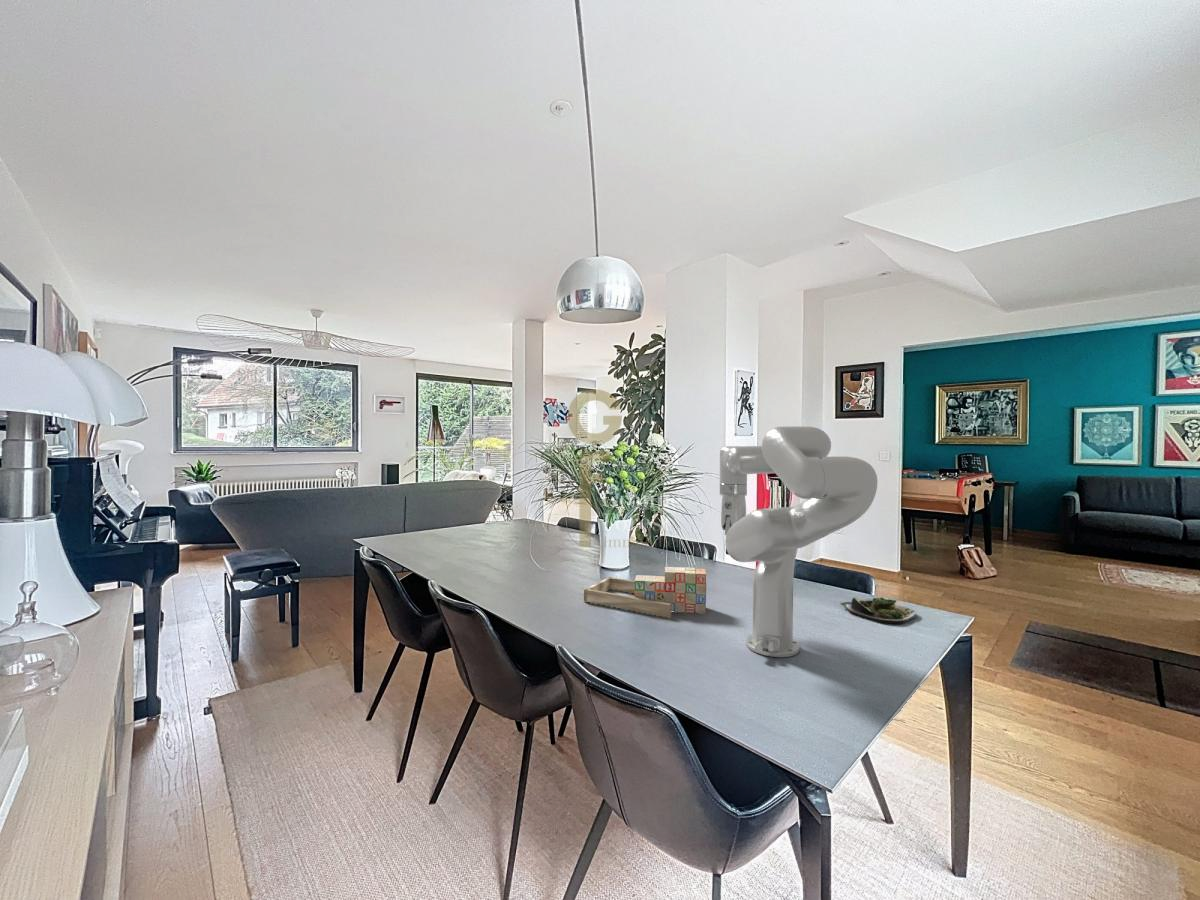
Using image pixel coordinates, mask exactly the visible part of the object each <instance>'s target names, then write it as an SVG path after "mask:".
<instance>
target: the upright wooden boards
mask: <svg viewBox="0 0 1200 900" xmlns="http://www.w3.org/2000/svg"><path fill="white" fill-rule="evenodd" d="M610 589H612V590H610ZM608 590H609V591H615V590H617V591H616V592H621V591H623V592H622V593H626V592H628V593H629V594H632V593H634V595H635V580H631V579H626V578H625V579H624V578H620V577H619V578H617V577H612V576H608V577H606V578H604V579H602V580H600V581H598V582H596V583H594V584H592V585H590V586H588V587H586V588H584V589H583V602H584V601H585V602H584V603H587V602H590V603H589V604H592V603H596V604H595V605H597V604H601V605H600V606H602V605H607V606H612V607H611V608H613V607H616V608H615V609H618V608H621V609H620V610H623V609H627V610H626V611H628V610H631V611H630V612H633V611H636V612H635V613H639V612H641V613H640V614H644V613H646V614H645V615H649V614H651V616H654V615H656V616H655V617H659V616H662V617H661V618H665V617H667V618H666V619H670V617H671V618H672V612H671V603H665V602H659V601H654V600H648V599H642V598H637V597H635V596H630V595H624V594H619V593H614V592H609V591H608ZM606 591H607V592H606ZM607 606H606V607H607Z"/></svg>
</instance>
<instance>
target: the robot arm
mask: <svg viewBox="0 0 1200 900" xmlns="http://www.w3.org/2000/svg"><path fill="white" fill-rule="evenodd" d="M831 449H832V441H831V439H830V436H829V435H828V434H827V433H826V432H825V431H824V430H822V429H821V428H818V427H814V426H775V427H774V428H771V429H770V430H769V431H767V432H766V433H765V435H764V436H763V439H762V442H761V445H757V446H756V445H752V446H751V445H749V446H746V445H745V446H741V445H738V446H735V445H732V446H730V445H727V446H723V447H721V448H720V452H719V495H720V496H722V497H721V513H720V517H721V519H720V521H721V523H720V524H721V529H722V530H723V531H724V536H725V540H724V542H725V544H724V545H725V554H726V555H727V556H730V558H732V559H733V560H734V561H736V562H739V563H752V562H753V563H755V562H758V563H757V565H756V567H755V569H754V572H753V578H752V634H750V635H749V636H747V637H746V640H745V641H746V642H745V643H746V647H747V648H748V649H749V650H751V651H752V652H754V653H757V654H760V655H763V656H767V657H773V658H789V657H794V656H796V655H797V654H799V652H800V645H799V642H797V640H795V639H794V573H795V564H796V557H797V554H798V550H799V549H801V548H804V547H806V546H809V545H811V544H812V543H814V542H816V541H819V540H821V539H823V538H825V537H828V536H829V535H830V534H833V533H835V532H837V531H839V530H841V529H843V528H846V527H847V526H849V525H851V524H853V523H854V522H855V521H857V520H859V519H860V518H861V517H862V516H864V515H865V514H866V512H867V511H868V510H869V509H870V507H871V506H872V503H873V502H874V499H875V497H876V494H877V491H878V490H877V489H878V474H877V473H876V470H875V469H874V467H873V466H872V465H871V464H870V463H868V462H867V461H866V460H863V459H861V458H858V457H852V456H828V455H829V454H830V452H831ZM758 474H759V475H761V474H763V475H764V474H775V475H776V476H777V478H779V479H780V481H781V483H783V484H784V486H785V487H786V488H787V490H789V491H790V492H791V493H792V494H793V495H794V496H796V497H797V498H800V499H803V500H804V501H802V503H799V504H797V505H794V506H784V507H768V508H759V509H756V510H753V511H750V512H749V513H747V503H746V502H747V501H746V496H748V475H758Z"/></svg>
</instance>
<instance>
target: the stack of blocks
mask: <svg viewBox="0 0 1200 900" xmlns="http://www.w3.org/2000/svg"><path fill="white" fill-rule="evenodd" d="M634 581H635V594H634V597H637V598H642V599H648V600H654V601H659V602H665V603H671V611H674V612H673V613H677V612H687V613H686V614H694V613H698V614H699V615H706V613H707V612H706V611H707V607H706V606H707V605H706V604H707V572H706V568H697V567H690V566H689V567H688V566H687V567H677V566H676V567H675V566H665V567H664V576H661V575H659V576H658V575H642V574H641V575H640V574H639V575H636V576H635V579H634Z"/></svg>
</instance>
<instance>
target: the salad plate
mask: <svg viewBox="0 0 1200 900" xmlns="http://www.w3.org/2000/svg"><path fill="white" fill-rule="evenodd" d="M895 603H897V600H896V599H892V598H889V597H886V599H885V598H884V597H872V598H863V599H859V598H858V597H853V598H852V599H851V601H844V602H840V605H842V606H843V607H844V608H845V609H846V610H847V611H848V613H849V614H850V615H852V616H855V617H858V618H861V619H864V620H866V621H867V620H868V621H870V622H874V623H878V624H884V625H891V626H893V625H895V626H896V625H903V624H905V623H907V622H909V621H910V620H912V619H913V618H915V616H917V612H916V610H914V609H912V608H910V607H906V606H901V605H898V604H897V605H896V604H895Z"/></svg>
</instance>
